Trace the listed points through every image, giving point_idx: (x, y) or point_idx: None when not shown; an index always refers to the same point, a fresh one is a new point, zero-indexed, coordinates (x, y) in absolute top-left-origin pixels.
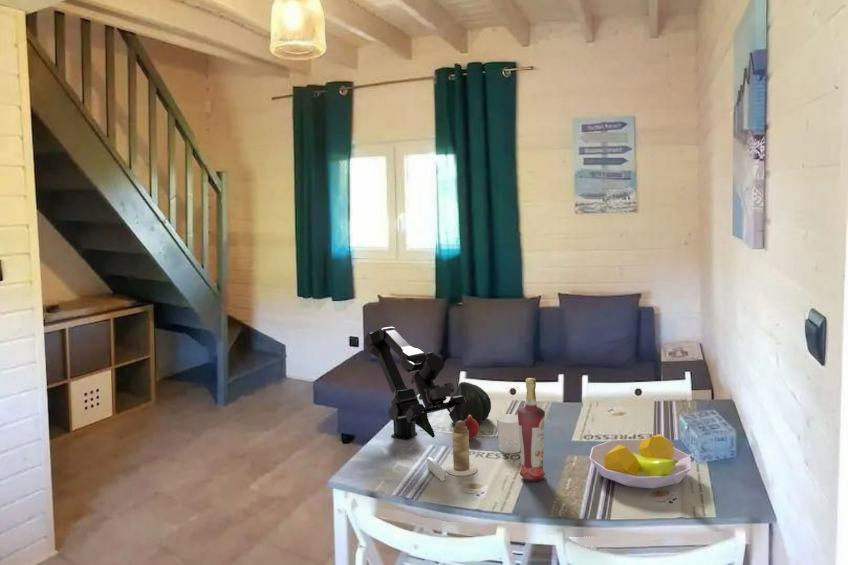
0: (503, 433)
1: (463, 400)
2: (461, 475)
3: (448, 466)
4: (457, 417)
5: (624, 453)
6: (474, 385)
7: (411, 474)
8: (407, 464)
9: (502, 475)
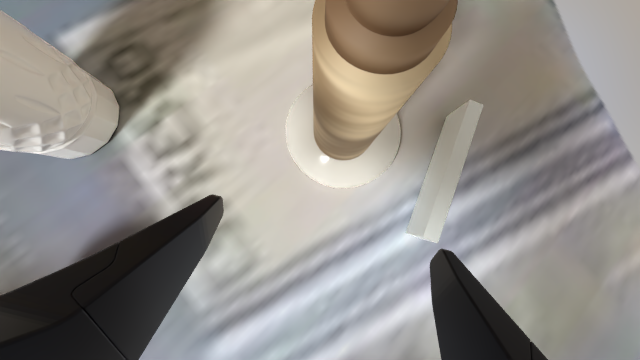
0: (34, 62)
1: None
2: None
3: (366, 177)
4: (136, 260)
5: None
6: None
7: (499, 240)
8: None
9: (287, 5)
